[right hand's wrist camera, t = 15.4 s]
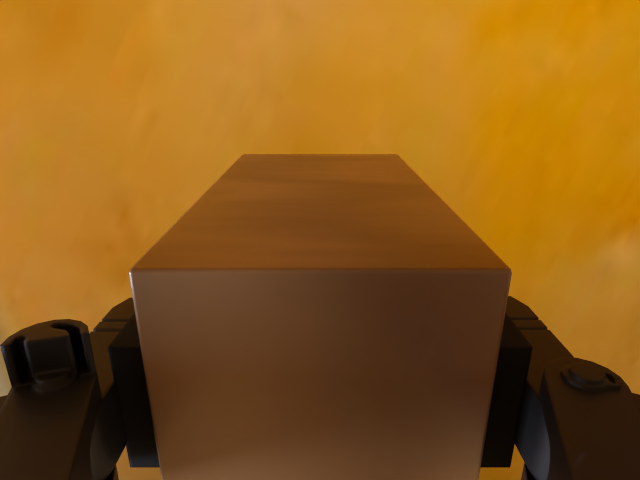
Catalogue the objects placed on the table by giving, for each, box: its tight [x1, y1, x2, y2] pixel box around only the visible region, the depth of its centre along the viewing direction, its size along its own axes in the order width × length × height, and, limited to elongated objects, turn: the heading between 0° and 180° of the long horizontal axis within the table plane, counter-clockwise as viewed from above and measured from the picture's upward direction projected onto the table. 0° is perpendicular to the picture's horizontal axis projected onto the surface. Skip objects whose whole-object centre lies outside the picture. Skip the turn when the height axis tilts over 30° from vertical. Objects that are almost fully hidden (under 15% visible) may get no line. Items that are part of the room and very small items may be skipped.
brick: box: [129, 154, 511, 480], centre depth 13 cm, size 6×6×11 cm
